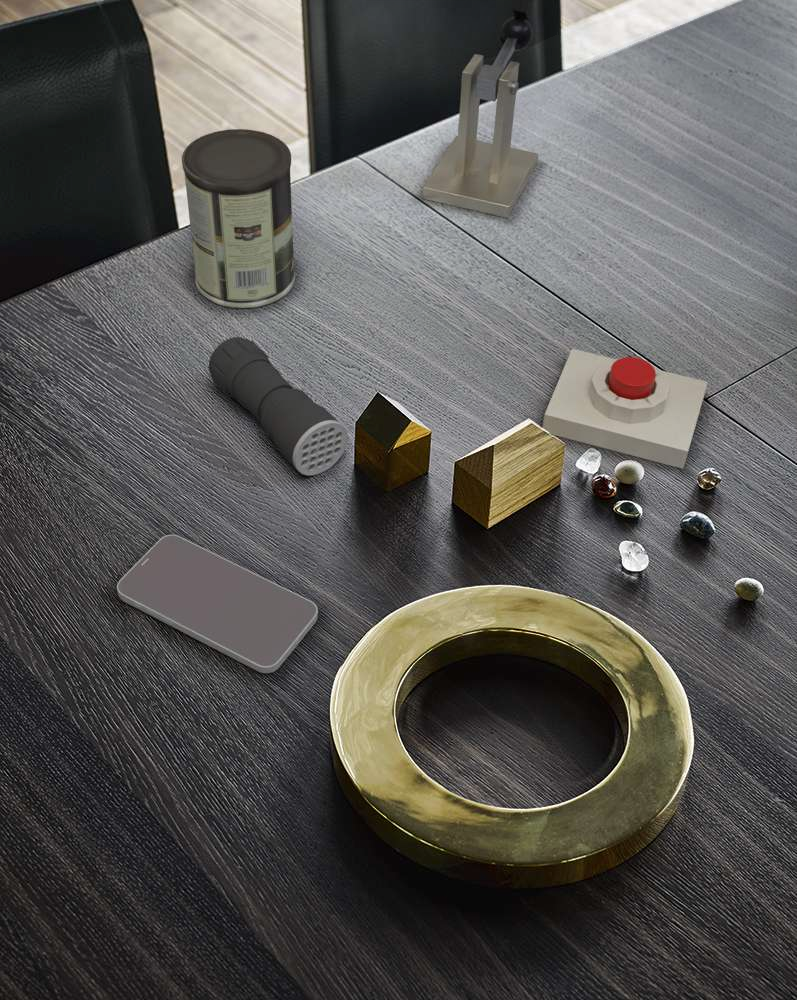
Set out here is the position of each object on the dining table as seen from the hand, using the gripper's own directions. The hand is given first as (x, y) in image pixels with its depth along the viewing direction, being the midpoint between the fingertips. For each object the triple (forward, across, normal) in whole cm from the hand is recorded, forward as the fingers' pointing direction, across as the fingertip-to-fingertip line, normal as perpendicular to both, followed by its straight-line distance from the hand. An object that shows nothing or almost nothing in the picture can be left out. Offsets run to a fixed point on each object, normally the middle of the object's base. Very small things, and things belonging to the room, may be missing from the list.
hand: (520, 15), depth 140 cm
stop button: (+38, -24, +25) cm, 52 cm away
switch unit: (+18, 0, -2) cm, 18 cm away
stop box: (+41, -24, +22) cm, 52 cm away
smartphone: (+65, 0, +47) cm, 80 cm away
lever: (+7, 0, +2) cm, 7 cm away
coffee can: (+37, +17, +18) cm, 44 cm away
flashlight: (+50, +5, +31) cm, 59 cm away
